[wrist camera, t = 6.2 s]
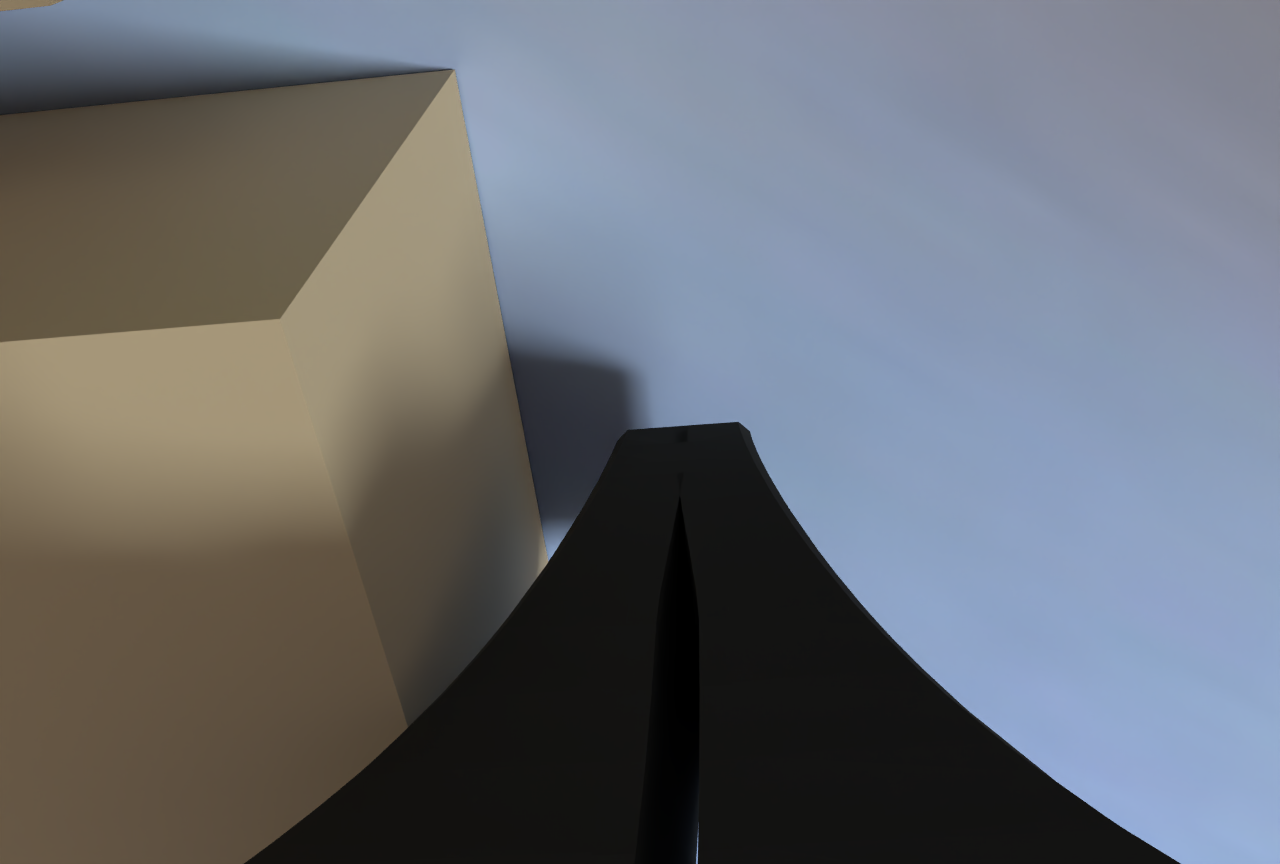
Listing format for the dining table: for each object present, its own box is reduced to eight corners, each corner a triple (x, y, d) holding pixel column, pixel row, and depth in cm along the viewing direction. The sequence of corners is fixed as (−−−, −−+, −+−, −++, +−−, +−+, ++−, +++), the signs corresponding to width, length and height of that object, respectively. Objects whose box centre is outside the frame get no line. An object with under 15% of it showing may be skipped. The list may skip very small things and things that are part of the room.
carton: (575, 705, 14) (532, 1122, 10) (-10, 735, 14) (-293, 1140, 10) (452, 63, 10) (276, 308, 5) (-373, 147, 10) (-1121, 426, 6)
